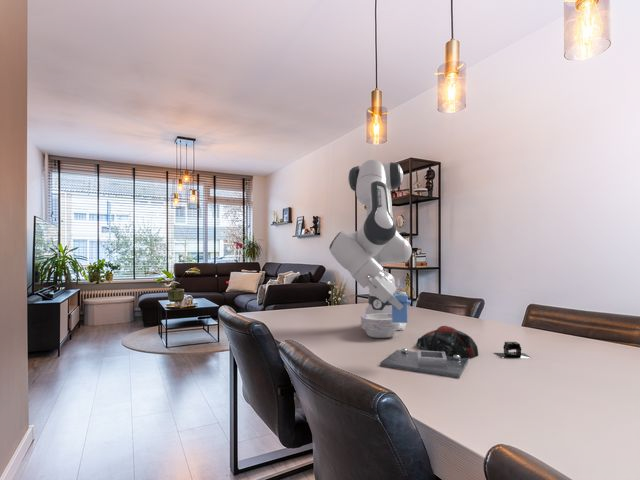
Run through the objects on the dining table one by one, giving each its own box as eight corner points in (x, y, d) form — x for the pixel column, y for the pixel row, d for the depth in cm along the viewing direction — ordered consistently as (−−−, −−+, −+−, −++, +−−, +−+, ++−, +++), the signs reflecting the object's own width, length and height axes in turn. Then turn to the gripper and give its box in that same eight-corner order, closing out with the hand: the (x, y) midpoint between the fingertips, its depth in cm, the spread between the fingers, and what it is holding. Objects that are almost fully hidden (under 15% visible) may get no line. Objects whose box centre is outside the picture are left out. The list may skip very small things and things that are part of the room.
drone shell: (481, 360, 115) (481, 334, 115) (415, 356, 120) (415, 331, 121) (473, 344, 135) (472, 321, 136) (417, 341, 141) (417, 319, 141)
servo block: (390, 319, 117) (389, 291, 118) (411, 320, 116) (410, 291, 116) (388, 322, 113) (388, 292, 113) (410, 323, 111) (410, 293, 112)
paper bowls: (355, 333, 154) (355, 313, 154) (388, 330, 158) (388, 311, 158) (371, 341, 139) (370, 320, 139) (407, 338, 144) (407, 317, 144)
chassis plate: (397, 352, 124) (397, 343, 124) (468, 362, 113) (468, 351, 113) (380, 365, 110) (380, 355, 110) (459, 377, 99) (459, 366, 99)
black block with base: (497, 360, 116) (496, 345, 116) (487, 353, 124) (487, 339, 124) (538, 360, 115) (538, 345, 116) (526, 354, 123) (526, 340, 123)
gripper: (372, 268, 107) (408, 304, 104) (380, 266, 126) (410, 295, 123) (357, 284, 108) (392, 319, 105) (367, 279, 127) (397, 309, 124)
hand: (402, 306), depth 114 cm, fingers closed on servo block, 4 cm apart
